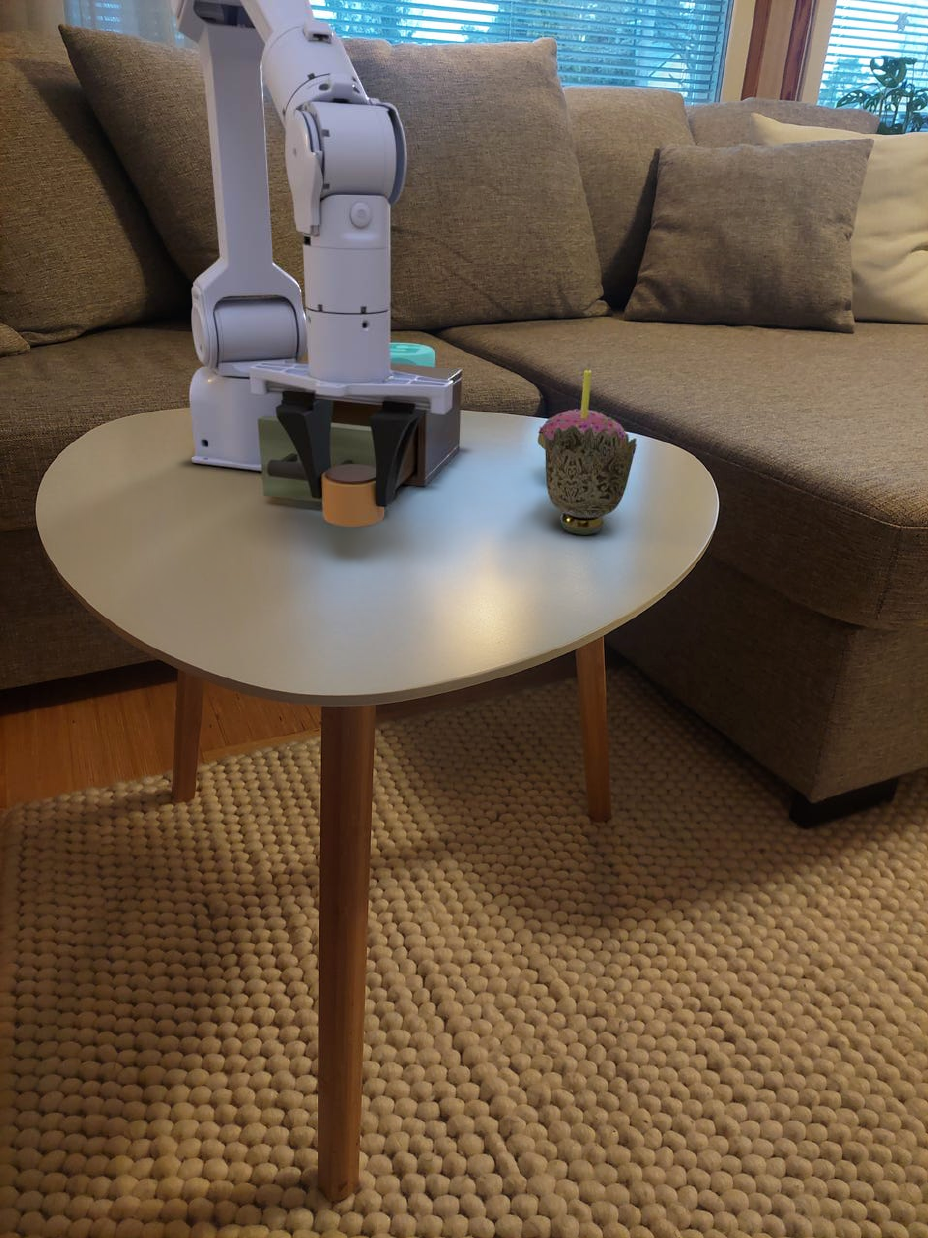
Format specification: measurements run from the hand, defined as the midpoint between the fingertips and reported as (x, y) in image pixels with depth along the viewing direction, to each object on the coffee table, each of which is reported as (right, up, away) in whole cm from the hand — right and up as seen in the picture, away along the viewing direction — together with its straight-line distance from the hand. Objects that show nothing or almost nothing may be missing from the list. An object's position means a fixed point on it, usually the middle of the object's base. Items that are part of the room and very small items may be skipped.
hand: (352, 498), depth 65 cm
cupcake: (+19, +4, +20) cm, 28 cm away
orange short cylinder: (0, -1, +1) cm, 1 cm away
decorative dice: (+1, +15, +40) cm, 42 cm away
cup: (+18, -2, +9) cm, 21 cm away
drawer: (-3, +3, +13) cm, 14 cm away
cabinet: (0, +7, +24) cm, 25 cm away
